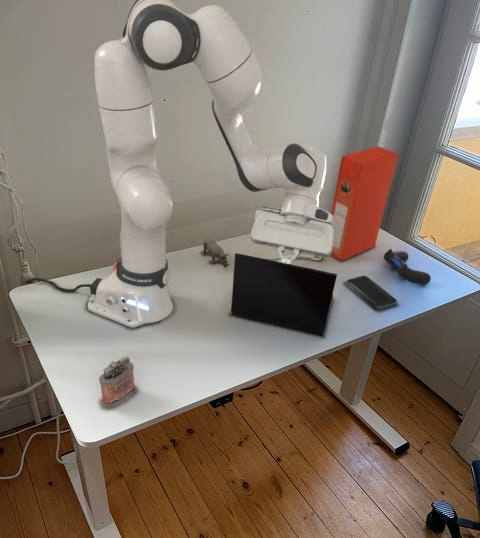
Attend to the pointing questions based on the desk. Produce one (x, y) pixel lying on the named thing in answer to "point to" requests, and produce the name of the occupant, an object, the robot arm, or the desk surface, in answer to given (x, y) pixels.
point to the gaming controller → (406, 267)
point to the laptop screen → (282, 292)
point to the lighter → (117, 382)
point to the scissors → (299, 257)
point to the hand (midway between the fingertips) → (285, 266)
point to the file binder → (360, 200)
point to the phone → (371, 292)
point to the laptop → (280, 323)
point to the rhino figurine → (215, 252)
